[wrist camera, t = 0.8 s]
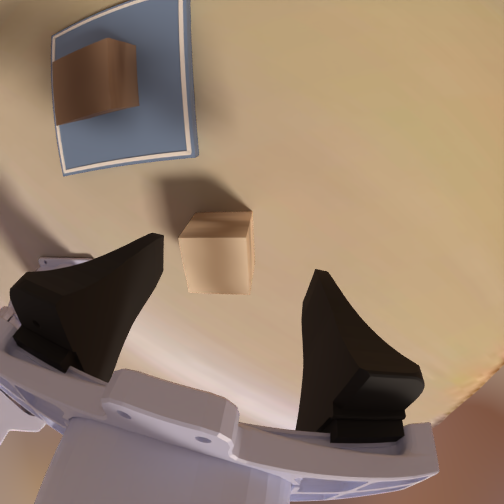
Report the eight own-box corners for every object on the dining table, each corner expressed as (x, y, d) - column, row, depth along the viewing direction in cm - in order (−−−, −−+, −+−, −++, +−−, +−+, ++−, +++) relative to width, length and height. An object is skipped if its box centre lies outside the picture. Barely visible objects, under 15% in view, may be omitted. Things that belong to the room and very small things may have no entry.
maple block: (202, 260, 25) (189, 292, 21) (196, 212, 23) (178, 238, 19) (254, 261, 24) (249, 294, 20) (252, 211, 22) (246, 237, 18)
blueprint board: (69, 173, 21) (34, 191, 17) (58, 36, 14) (21, 33, 10) (198, 155, 20) (177, 170, 16) (190, -11, 13) (167, -36, 9)
